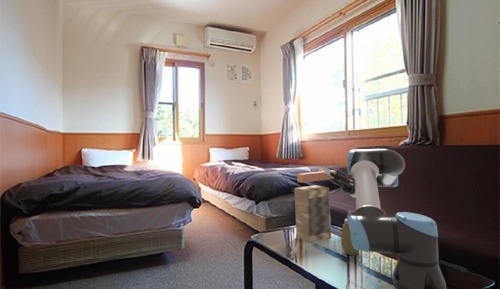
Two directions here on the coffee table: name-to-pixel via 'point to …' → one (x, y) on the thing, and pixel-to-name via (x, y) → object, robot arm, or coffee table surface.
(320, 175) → the rail
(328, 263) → the coffee table surface
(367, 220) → the robot arm
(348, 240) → the squeeze bottle
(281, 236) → the coffee table surface
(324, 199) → the stand
